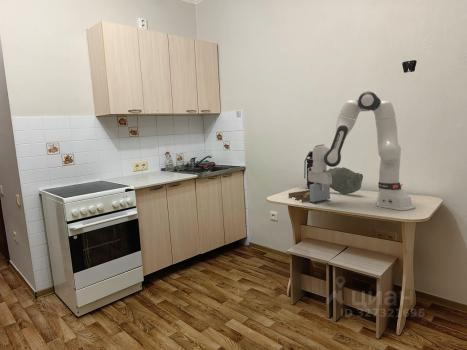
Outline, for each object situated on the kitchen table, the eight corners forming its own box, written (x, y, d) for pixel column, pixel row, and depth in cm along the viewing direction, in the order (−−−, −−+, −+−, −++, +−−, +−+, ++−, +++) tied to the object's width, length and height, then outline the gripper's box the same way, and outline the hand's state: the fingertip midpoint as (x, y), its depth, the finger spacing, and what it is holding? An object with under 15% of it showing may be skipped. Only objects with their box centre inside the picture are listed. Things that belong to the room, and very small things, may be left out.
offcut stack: (317, 198, 228) (316, 192, 228) (305, 200, 224) (305, 194, 224) (313, 197, 232) (313, 191, 231) (301, 199, 228) (301, 193, 227)
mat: (330, 201, 219) (330, 200, 219) (315, 203, 214) (315, 203, 214) (323, 199, 226) (323, 198, 226) (308, 201, 220) (308, 201, 220)
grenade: (320, 186, 271) (320, 150, 266) (323, 189, 259) (322, 151, 255) (303, 187, 272) (303, 151, 268) (305, 189, 261) (304, 152, 256)
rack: (325, 198, 228) (325, 193, 228) (303, 202, 220) (302, 197, 220) (310, 194, 243) (310, 189, 243) (288, 197, 235) (288, 193, 235)
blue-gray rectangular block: (329, 198, 221) (329, 182, 219) (313, 201, 215) (313, 185, 214) (326, 198, 224) (326, 182, 223) (309, 200, 218) (309, 184, 217)
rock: (364, 196, 230) (365, 167, 227) (361, 197, 225) (361, 168, 222) (330, 191, 249) (330, 165, 246) (326, 193, 244) (325, 166, 241)
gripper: (334, 170, 209) (334, 191, 211) (313, 167, 227) (313, 187, 229) (326, 171, 206) (326, 192, 208) (306, 168, 224) (306, 188, 226)
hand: (319, 189), depth 219 cm, fingers closed on blue-gray rectangular block, 3 cm apart
